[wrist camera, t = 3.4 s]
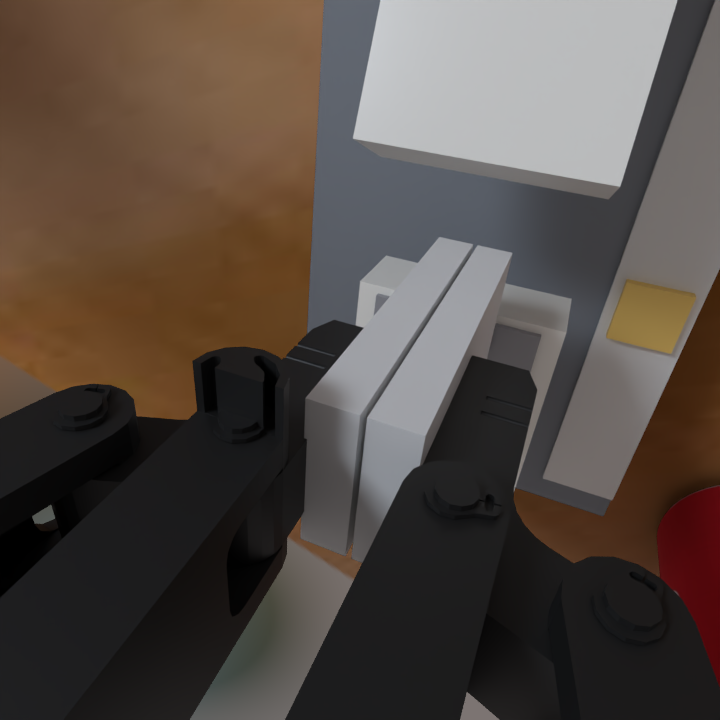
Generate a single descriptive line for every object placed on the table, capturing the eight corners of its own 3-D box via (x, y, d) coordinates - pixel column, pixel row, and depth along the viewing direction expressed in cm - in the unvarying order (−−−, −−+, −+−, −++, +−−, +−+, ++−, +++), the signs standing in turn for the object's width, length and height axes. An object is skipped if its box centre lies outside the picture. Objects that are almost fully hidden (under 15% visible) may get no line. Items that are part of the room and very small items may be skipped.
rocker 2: (358, 470, 20) (334, 512, 18) (386, 255, 16) (357, 283, 14) (500, 518, 19) (489, 568, 17) (571, 298, 15) (566, 335, 13)
